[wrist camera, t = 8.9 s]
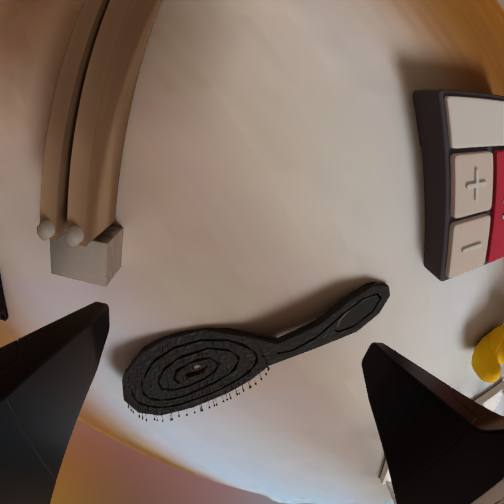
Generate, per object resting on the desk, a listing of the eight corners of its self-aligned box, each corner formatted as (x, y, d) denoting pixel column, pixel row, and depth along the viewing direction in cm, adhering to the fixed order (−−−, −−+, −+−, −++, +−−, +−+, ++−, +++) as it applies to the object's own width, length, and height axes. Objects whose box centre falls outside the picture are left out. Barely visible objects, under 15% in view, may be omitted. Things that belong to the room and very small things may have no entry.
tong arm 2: (75, 214, 18) (34, 239, 13) (135, -27, 12) (112, -63, 7) (91, 217, 19) (53, 244, 14) (152, -27, 12) (134, -66, 7)
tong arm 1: (98, 218, 19) (61, 246, 14) (154, -27, 12) (136, -66, 7) (116, 221, 19) (82, 250, 14) (173, -27, 13) (159, -68, 7)
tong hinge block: (70, 255, 20) (51, 273, 17) (71, 218, 19) (49, 232, 16) (120, 266, 20) (106, 286, 18) (123, 228, 19) (107, 243, 16)
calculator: (444, 287, 20) (445, 88, 14) (417, 264, 24) (409, 90, 17) (518, 256, 20) (524, 99, 13) (492, 239, 24) (492, 96, 17)
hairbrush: (406, 337, 22) (153, 436, 23) (387, 316, 26) (157, 409, 27) (393, 257, 19) (97, 382, 20) (370, 241, 23) (108, 355, 24)
